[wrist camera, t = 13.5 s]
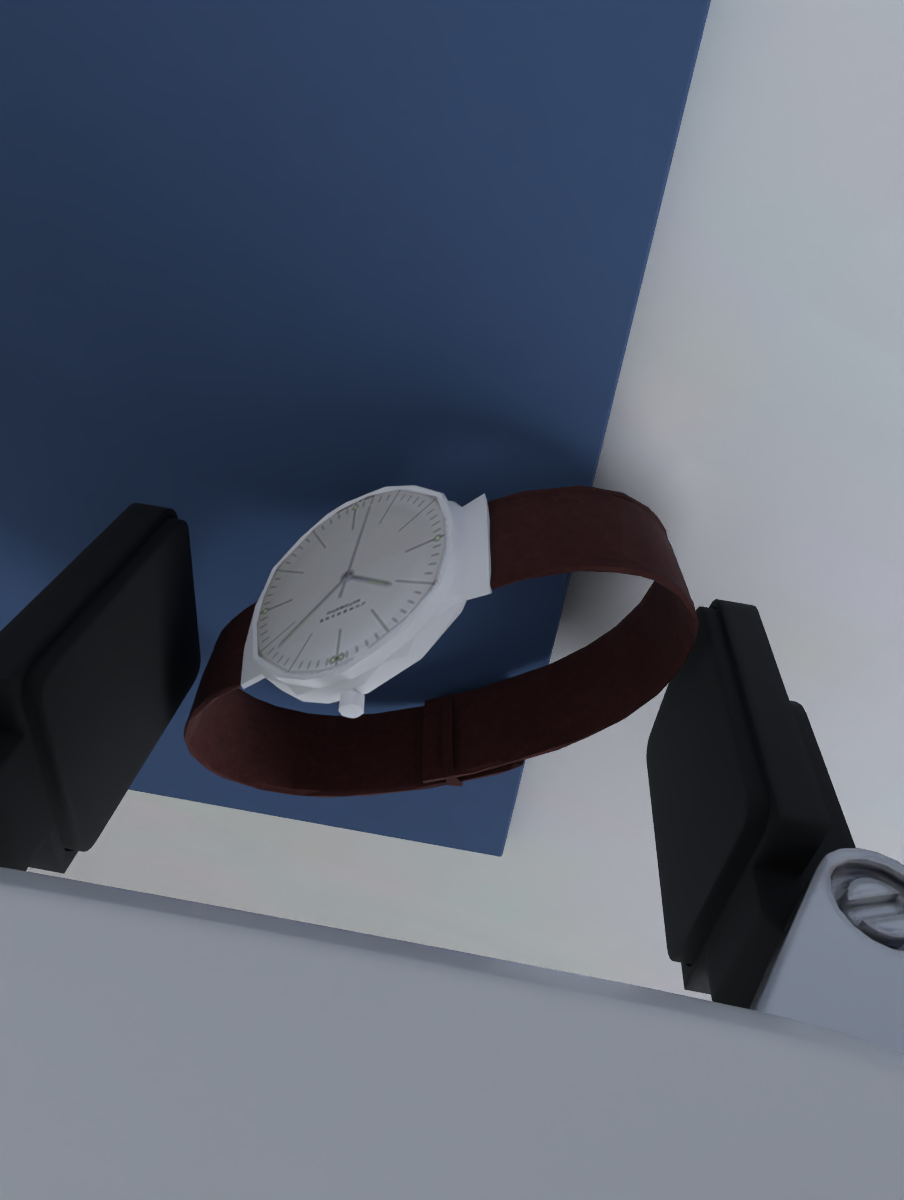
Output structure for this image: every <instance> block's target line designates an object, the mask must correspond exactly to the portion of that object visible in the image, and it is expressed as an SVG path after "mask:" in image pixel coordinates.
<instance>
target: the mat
mask: <svg viewBox="0 0 904 1200" xmlns="http://www.w3.org/2000/svg"><path fill="white" fill-rule="evenodd" d="M710 1H711V0H0V631H1V630H2V629H3V628H4V627H5V626H6V625H7V624H8V623H9V622H10V621H11V620H12V619H13V618H15V617H16V616H17V615H18V614H19V613H20V612H21V611H22V610H23V609H24V608H25V607H26V606H27V605H28V604H29V603H30V602H31V601H32V600H33V599H34V598H35V597H36V596H37V595H38V594H39V593H40V592H41V591H42V590H43V589H44V588H45V587H46V586H47V585H48V584H49V583H50V582H51V581H52V580H53V579H55V578H56V577H57V576H58V575H59V574H60V573H61V572H62V571H63V570H64V569H65V568H66V567H67V566H68V565H69V564H70V563H71V562H72V561H73V560H74V559H75V558H76V557H77V556H78V555H79V554H80V553H81V552H82V551H83V550H84V549H85V548H86V547H87V546H88V545H89V544H90V543H91V542H92V541H94V540H95V539H96V538H97V537H98V536H99V535H100V534H101V533H102V532H103V531H104V530H105V529H106V528H107V527H108V526H109V525H110V524H111V523H112V522H113V521H114V520H115V519H116V518H117V517H118V516H119V515H120V514H121V513H122V512H123V511H124V510H125V509H126V508H127V507H128V506H130V505H131V504H133V503H142V504H148V505H154V506H160V507H166V508H172V509H173V510H174V511H175V512H176V514H177V516H178V519H180V520H184V521H186V522H187V525H188V529H189V537H190V548H191V558H192V569H193V579H194V590H195V600H196V611H197V622H198V632H199V643H200V653H201V664H200V669H199V673H198V676H197V679H196V680H195V682H194V684H193V686H192V687H191V689H190V690H189V692H188V694H187V695H186V697H185V698H184V700H183V702H182V703H181V705H180V707H179V708H178V710H177V711H176V713H175V715H174V716H173V718H172V719H171V721H170V723H169V724H168V726H167V728H166V729H165V731H164V732H163V734H162V736H161V737H160V739H159V740H158V742H157V744H156V745H155V747H154V748H153V750H152V752H151V753H150V755H149V757H148V758H147V760H146V761H145V763H144V765H143V766H142V768H141V769H140V771H139V773H138V774H137V776H136V777H135V779H134V781H133V782H132V784H131V786H130V787H129V790H135V791H140V792H146V793H151V794H157V795H162V796H168V797H174V798H179V799H185V800H190V801H196V802H201V803H207V804H212V805H218V806H223V807H229V808H234V809H240V810H245V811H251V812H256V813H262V814H268V815H273V816H279V817H284V818H290V819H295V820H301V821H306V822H312V823H317V824H323V825H328V826H334V827H339V828H345V829H350V830H356V831H362V832H367V833H373V834H378V835H384V836H389V837H395V838H400V839H406V840H411V841H417V842H422V843H428V844H433V845H439V846H444V847H450V848H456V849H461V850H467V851H472V852H478V853H483V854H489V855H494V856H502V854H503V850H504V846H505V842H506V838H507V833H508V829H509V825H510V821H511V817H512V813H513V809H514V805H515V801H516V797H517V792H518V788H519V784H520V780H521V776H522V772H523V768H524V764H525V761H524V763H523V765H522V766H520V767H517V768H515V769H513V770H510V771H507V772H504V773H502V774H498V775H493V776H488V777H483V778H478V779H473V780H469V781H464V782H463V785H462V786H449V785H444V786H439V787H434V788H429V789H421V790H413V791H405V792H396V793H388V794H380V795H371V796H351V797H330V798H322V797H308V796H295V795H287V794H281V793H276V792H270V791H264V790H259V789H256V788H253V787H250V786H247V785H243V784H240V783H237V782H234V781H230V780H227V779H224V778H222V777H220V776H218V775H216V774H214V773H213V772H211V771H209V770H208V769H206V768H205V767H204V766H203V765H202V764H201V763H199V762H198V761H197V760H196V759H195V758H194V757H193V756H192V755H191V754H190V753H189V750H188V748H187V745H186V743H185V740H184V728H185V723H186V721H187V719H188V717H189V714H190V711H191V708H192V705H193V702H194V699H195V696H196V693H197V690H198V687H199V683H200V680H201V677H202V675H203V672H204V670H205V668H206V666H207V663H208V661H209V659H210V657H211V654H212V652H213V650H214V645H215V643H216V641H217V639H218V637H219V635H220V633H221V631H222V630H223V629H224V627H225V626H226V625H227V624H228V623H229V622H230V621H231V620H232V619H233V618H234V617H236V616H237V615H238V614H239V613H241V612H242V611H243V610H244V609H246V608H247V607H249V606H250V605H252V604H254V603H255V602H257V601H258V599H259V597H260V595H261V593H262V591H263V590H264V587H265V585H266V583H267V580H268V578H269V576H270V573H271V571H272V569H273V568H274V566H275V565H276V564H277V563H278V562H279V561H280V560H281V559H282V558H283V557H284V555H285V554H286V553H287V552H288V551H289V550H290V549H291V548H292V547H293V546H294V544H295V543H296V542H297V541H298V540H299V539H300V538H301V537H302V536H303V535H304V534H305V533H306V532H308V531H309V530H310V529H311V528H312V527H313V526H314V525H316V524H317V523H318V522H319V521H320V520H321V519H322V518H324V517H325V516H326V515H327V514H328V513H330V512H331V511H333V510H335V509H336V508H338V507H339V506H341V505H343V504H344V503H346V502H348V501H351V500H353V499H356V498H358V497H360V496H363V495H365V494H368V493H371V492H373V491H376V490H378V489H381V488H383V487H389V486H408V485H416V486H420V487H423V488H427V489H430V490H434V491H437V492H441V493H444V495H445V496H446V498H447V500H448V501H453V502H455V503H457V504H458V505H460V506H461V507H463V506H465V505H466V504H468V503H469V502H471V501H473V500H474V499H476V498H478V497H479V496H481V495H483V494H484V493H485V496H486V498H487V501H491V500H494V499H498V498H501V497H505V496H508V495H512V494H515V493H519V492H522V491H529V490H539V489H550V488H560V487H570V486H581V485H583V486H589V487H592V485H593V481H594V477H595V473H596V469H597V464H598V460H599V456H600V452H601V448H602V444H603V440H604V436H605V432H606V428H607V423H608V419H609V415H610V411H611V407H612V403H613V399H614V395H615V391H616V387H617V382H618V378H619V374H620V370H621V366H622V362H623V358H624V354H625V350H626V346H627V341H628V337H629V333H630V329H631V325H632V321H633V317H634V313H635V309H636V305H637V300H638V296H639V292H640V288H641V284H642V280H643V276H644V272H645V268H646V264H647V259H648V255H649V251H650V247H651V243H652V239H653V235H654V231H655V227H656V223H657V218H658V214H659V210H660V206H661V202H662V198H663V194H664V190H665V186H666V182H667V177H668V173H669V169H670V165H671V161H672V157H673V153H674V149H675V145H676V141H677V136H678V132H679V128H680V124H681V120H682V116H683V112H684V108H685V104H686V100H687V95H688V91H689V87H690V83H691V79H692V75H693V71H694V67H695V63H696V59H697V54H698V50H699V46H700V42H701V38H702V34H703V30H704V26H705V22H706V18H707V13H708V9H709V5H710ZM570 575H571V572H568V573H562V574H556V575H550V576H544V577H538V578H532V579H526V580H523V581H519V582H516V583H513V584H510V585H507V586H503V587H500V588H497V589H494V590H492V593H491V594H488V595H485V596H481V597H477V598H473V599H470V600H467V601H466V603H465V606H464V608H463V610H462V612H461V613H460V615H459V616H458V617H457V618H456V619H455V620H454V622H453V623H452V624H451V625H450V626H449V627H448V629H447V630H446V631H445V632H444V633H443V634H442V636H441V637H440V638H439V639H438V640H437V641H436V643H435V644H434V645H433V646H432V647H431V648H430V650H429V651H428V652H427V653H426V654H425V655H424V657H423V658H422V659H420V660H419V661H417V662H416V663H414V664H413V665H411V666H410V667H408V668H406V669H405V670H403V671H402V672H400V673H399V674H397V675H396V676H394V677H392V678H391V679H389V680H388V681H386V682H385V683H383V684H382V685H380V686H378V687H377V688H375V689H374V690H372V691H371V692H369V693H367V694H363V695H365V700H364V713H363V714H376V713H382V712H388V711H394V710H400V709H406V708H413V707H419V706H424V704H425V700H429V699H434V698H438V697H443V696H444V695H450V694H457V693H462V692H467V691H471V690H476V689H479V688H482V687H485V686H487V685H490V684H493V683H496V682H499V681H502V680H505V679H508V678H511V677H514V676H517V675H520V674H523V673H525V672H528V671H531V670H534V669H537V668H540V667H543V666H546V665H549V661H550V657H551V653H552V649H553V645H554V641H555V637H556V633H557V628H558V624H559V620H560V616H561V612H562V608H563V604H564V600H565V596H566V592H567V587H568V583H569V579H570ZM239 689H241V690H243V691H244V692H246V693H248V694H250V695H251V696H253V697H255V698H257V699H260V700H262V701H265V702H267V703H270V704H272V705H275V706H278V707H283V708H287V709H291V710H296V711H300V712H305V713H310V714H321V715H333V716H341V714H340V712H339V711H338V710H339V703H340V701H337V702H333V703H330V704H326V703H314V702H303V701H301V700H299V699H297V698H295V697H293V696H291V695H289V694H287V693H286V692H284V691H282V690H280V689H279V688H278V687H276V686H275V685H274V684H273V683H271V682H270V681H269V680H267V679H266V678H264V679H262V680H260V681H258V682H256V683H254V684H253V685H251V686H249V687H247V688H245V689H243V688H242V687H240V688H239ZM525 760H526V759H525Z"/></svg>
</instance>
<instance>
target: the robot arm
mask: <svg viewBox="0 0 904 1200" xmlns="http://www.w3.org/2000/svg"><path fill="white" fill-rule="evenodd" d="M696 614H697V618H698V621H699V625H698V630H697V635H696V640H695V645H694V648H693V650H692V651H691V653H690V655H689V656H688V658H687V659H686V661H685V663H684V664H683V666H682V668H681V669H680V671H679V672H678V673H677V674H676V676H675V677H674V678H673V679H672V680H671V681H670V682H669V684H668V687H667V690H666V693H665V695H664V698H663V701H662V703H661V706H660V709H659V712H658V714H657V717H656V720H655V722H654V725H653V728H652V731H651V733H650V736H649V740H648V745H647V756H646V757H647V768H648V778H649V787H650V796H651V805H652V814H653V823H654V832H655V841H656V850H657V859H658V869H659V878H660V887H661V896H662V905H663V914H664V923H665V932H666V941H667V949H668V955H669V957H670V959H671V960H672V961H676V962H681V965H682V973H683V981H684V989H685V990H690V991H695V992H701V993H706V994H711V997H712V1001H713V1002H712V1001H707V1000H702V999H698V998H693V997H688V996H683V995H679V994H674V993H669V992H664V991H659V990H655V989H650V988H645V987H640V986H635V985H630V984H625V983H620V982H615V981H609V980H604V979H599V978H594V977H589V976H583V975H578V974H573V973H568V972H563V971H557V970H552V969H547V968H542V967H537V966H531V965H526V964H521V963H516V962H511V961H505V960H500V959H495V958H490V957H485V956H480V955H474V954H469V953H464V952H459V951H454V950H448V949H443V948H438V947H433V946H427V945H422V944H417V943H411V942H406V941H401V940H395V939H390V938H385V937H379V936H374V935H369V934H363V933H358V932H353V931H347V930H342V929H337V928H332V927H326V926H321V925H316V924H310V923H305V922H299V921H294V920H289V919H283V918H278V917H273V916H267V915H262V914H256V913H251V912H246V911H240V910H235V909H230V908H224V907H219V906H213V905H208V904H203V903H197V902H192V901H186V900H181V899H175V898H170V897H164V896H159V895H153V894H148V893H142V892H137V891H131V890H126V889H120V888H115V887H109V886H104V885H98V884H93V883H87V882H82V881H76V880H71V879H65V878H60V877H54V876H49V875H43V874H37V873H32V872H26V870H27V868H28V867H32V868H37V869H43V870H48V871H53V872H59V873H65V871H66V870H67V868H68V866H69V865H70V863H71V862H72V860H73V859H74V857H75V855H76V854H77V852H78V851H83V852H85V851H88V850H89V849H90V848H91V847H92V846H93V845H94V843H95V842H96V840H97V839H98V837H99V836H100V834H101V832H102V831H103V829H104V827H105V826H106V824H107V823H108V821H109V819H110V818H111V816H112V815H113V813H114V811H115V810H116V808H117V807H118V805H119V803H120V802H121V800H122V798H123V797H124V795H125V794H126V792H127V790H128V789H129V787H130V786H131V784H132V782H133V781H134V779H135V777H136V776H137V774H138V773H139V771H140V769H141V768H142V766H143V765H144V763H145V761H146V760H147V758H148V757H149V755H150V753H151V752H152V750H153V748H154V747H155V745H156V744H157V742H158V740H159V739H160V737H161V736H162V734H163V732H164V731H165V729H166V728H167V726H168V724H169V723H170V721H171V719H172V718H173V716H174V715H175V713H176V711H177V710H178V708H179V707H180V705H181V703H182V702H183V700H184V698H185V697H186V695H187V694H188V692H189V690H190V689H191V687H192V686H193V684H194V682H195V680H196V679H197V676H198V673H199V669H200V664H201V653H200V643H199V632H198V622H197V611H196V600H195V590H194V579H193V569H192V558H191V548H190V537H189V529H188V525H187V522H186V521H184V520H180V519H178V516H177V514H176V512H175V511H174V510H173V509H172V508H166V507H160V506H154V505H148V504H142V503H133V504H131V505H130V506H128V507H127V508H126V509H125V510H124V511H123V512H122V513H121V514H120V515H119V516H118V517H117V518H116V519H115V520H114V521H113V522H112V523H111V524H110V525H109V526H108V527H107V528H106V529H105V530H104V531H103V532H102V533H101V534H100V535H99V536H98V537H97V538H96V539H95V540H94V541H92V542H91V543H90V544H89V545H88V546H87V547H86V548H85V549H84V550H83V551H82V552H81V553H80V554H79V555H78V556H77V557H76V558H75V559H74V560H73V561H72V562H71V563H70V564H69V565H68V566H67V567H66V568H65V569H64V570H63V571H62V572H61V573H60V574H59V575H58V576H57V577H56V578H55V579H53V580H52V581H51V582H50V583H49V584H48V585H47V586H46V587H45V588H44V589H43V590H42V591H41V592H40V593H39V594H38V595H37V596H36V597H35V598H34V599H33V600H32V601H31V602H30V603H29V604H28V605H27V606H26V607H25V608H24V609H23V610H22V611H21V612H20V613H19V614H18V615H17V616H16V617H15V618H13V619H12V620H11V621H10V622H9V623H8V624H7V625H6V626H5V627H4V628H3V629H2V630H1V631H0V1200H904V865H902V864H901V863H899V862H898V861H896V860H894V859H891V858H889V857H887V856H884V855H882V854H880V853H878V852H874V851H869V850H865V849H860V848H856V847H855V844H854V842H853V839H852V836H851V834H850V831H849V828H848V825H847V823H846V820H845V817H844V815H843V812H842V809H841V806H840V804H839V801H838V798H837V796H836V793H835V790H834V787H833V785H832V782H831V779H830V776H829V774H828V771H827V768H826V766H825V763H824V760H823V757H822V755H821V752H820V749H819V747H818V744H817V741H816V738H815V736H814V733H813V730H812V728H811V725H810V722H809V719H808V717H807V714H806V712H805V710H804V708H803V707H802V705H800V704H799V703H797V702H794V701H789V698H788V695H787V693H786V690H785V687H784V684H783V681H782V678H781V675H780V673H779V670H778V667H777V664H776V661H775V658H774V655H773V652H772V650H771V647H770V644H769V641H768V638H767V635H766V632H765V629H764V627H763V624H762V621H761V618H760V615H759V612H758V610H757V608H756V606H753V605H748V604H742V603H736V602H730V601H724V600H718V599H716V600H714V601H713V602H712V603H711V605H710V607H709V608H707V607H701V606H700V607H698V609H697V610H696Z"/></svg>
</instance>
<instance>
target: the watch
mask: <svg viewBox="0 0 904 1200" xmlns="http://www.w3.org/2000/svg"><path fill="white" fill-rule="evenodd" d="M574 571H593V572H617V573H623V574H630V575H637V576H642V577H645V578H648V579H652V580H654V582H653V584H652V585H651V587H650V588H649V590H648V592H647V593H646V595H645V596H644V598H643V599H642V601H641V602H640V603H639V604H638V605H637V606H636V607H635V608H634V609H633V610H632V611H631V612H630V613H629V614H628V615H627V616H626V617H625V618H624V619H623V620H622V621H621V622H620V623H619V624H618V625H617V626H616V627H614V628H613V629H611V630H610V631H609V632H607V633H606V634H604V635H603V636H601V637H600V638H598V639H597V640H595V641H594V642H592V643H591V644H589V645H588V646H586V647H584V648H582V649H580V650H578V651H576V652H574V653H572V654H570V655H568V656H566V657H564V658H562V659H560V660H558V661H556V662H554V663H552V664H549V665H546V666H543V667H540V668H537V669H534V670H531V671H528V672H525V673H523V674H520V675H517V676H514V677H511V678H508V679H505V680H502V681H499V682H496V683H493V684H490V685H487V686H485V687H482V688H479V689H476V690H471V691H467V692H462V693H457V694H450V695H444V696H443V697H438V698H434V699H429V700H425V704H424V706H419V707H413V708H406V709H400V710H394V711H388V712H382V713H376V714H363V713H364V700H365V695H363V694H367V693H369V692H371V691H372V690H374V689H375V688H377V687H378V686H380V685H382V684H383V683H385V682H386V681H388V680H389V679H391V678H392V677H394V676H396V675H397V674H399V673H400V672H402V671H403V670H405V669H406V668H408V667H410V666H411V665H413V664H414V663H416V662H417V661H419V660H420V659H422V658H423V657H424V655H425V654H426V653H427V652H428V651H429V650H430V648H431V647H432V646H433V645H434V644H435V643H436V641H437V640H438V639H439V638H440V637H441V636H442V634H443V633H444V632H445V631H446V630H447V629H448V627H449V626H450V625H451V624H452V623H453V622H454V620H455V619H456V618H457V617H458V616H459V615H460V613H461V612H462V610H463V608H464V606H465V603H466V601H467V600H470V599H473V598H477V597H481V596H485V595H488V594H491V593H492V590H494V589H497V588H500V587H503V586H507V585H510V584H513V583H516V582H519V581H523V580H526V579H532V578H538V577H544V576H550V575H556V574H562V573H568V572H574ZM698 625H699V621H698V618H697V614H696V611H695V607H694V603H693V601H692V599H691V598H690V594H689V591H688V588H687V586H686V583H685V580H684V578H683V575H682V573H681V570H680V567H679V565H678V562H677V560H676V557H675V554H674V552H673V549H672V547H671V544H670V542H669V540H668V537H667V533H666V529H665V528H664V526H663V524H662V523H661V521H660V520H659V518H658V517H657V516H656V515H655V514H654V513H653V512H652V511H651V510H650V509H649V508H648V507H647V506H645V505H643V504H642V503H640V502H638V501H636V500H635V499H633V498H631V497H629V496H628V495H626V494H624V493H621V492H616V491H610V490H605V489H599V488H594V487H589V486H583V485H581V486H570V487H560V488H550V489H539V490H529V491H522V492H519V493H515V494H512V495H508V496H505V497H501V498H498V499H494V500H491V501H487V498H486V496H485V493H484V494H483V495H481V496H479V497H478V498H476V499H474V500H473V501H471V502H469V503H468V504H466V505H465V506H463V507H461V506H460V505H458V504H457V503H455V502H453V501H448V500H447V498H446V496H445V495H444V493H441V492H437V491H434V490H430V489H427V488H423V487H420V486H416V485H408V486H389V487H383V488H381V489H378V490H376V491H373V492H371V493H368V494H365V495H363V496H360V497H358V498H356V499H353V500H351V501H348V502H346V503H344V504H343V505H341V506H339V507H338V508H336V509H335V510H333V511H331V512H330V513H328V514H327V515H326V516H325V517H324V518H322V519H321V520H320V521H319V522H318V523H317V524H316V525H314V526H313V527H312V528H311V529H310V530H309V531H308V532H306V533H305V534H304V535H303V536H302V537H301V538H300V539H299V540H298V541H297V542H296V543H295V544H294V546H293V547H292V548H291V549H290V550H289V551H288V552H287V553H286V554H285V555H284V557H283V558H282V559H281V560H280V561H279V562H278V563H277V564H276V565H275V566H274V568H273V569H272V571H271V573H270V576H269V578H268V580H267V583H266V585H265V587H264V590H263V591H262V593H261V595H260V597H259V599H258V601H257V602H255V603H254V604H252V605H250V606H249V607H247V608H246V609H244V610H243V611H242V612H241V613H239V614H238V615H237V616H236V617H234V618H233V619H232V620H231V621H230V622H229V623H228V624H227V625H226V626H225V627H224V629H223V630H222V631H221V633H220V635H219V637H218V639H217V641H216V643H215V645H214V650H213V652H212V654H211V657H210V659H209V661H208V663H207V666H206V668H205V670H204V672H203V675H202V677H201V680H200V683H199V687H198V690H197V693H196V696H195V699H194V702H193V705H192V708H191V711H190V714H189V717H188V719H187V721H186V723H185V728H184V740H185V743H186V745H187V748H188V750H189V753H190V754H191V755H192V756H193V757H194V758H195V759H196V760H197V761H198V762H199V763H201V764H202V765H203V766H204V767H205V768H206V769H208V770H209V771H211V772H213V773H214V774H216V775H218V776H220V777H222V778H224V779H227V780H230V781H234V782H237V783H240V784H243V785H247V786H250V787H253V788H256V789H259V790H264V791H270V792H276V793H281V794H287V795H295V796H308V797H322V798H330V797H351V796H371V795H380V794H388V793H396V792H405V791H413V790H421V789H429V788H434V787H439V786H444V785H449V786H462V785H463V782H464V781H469V780H473V779H478V778H483V777H488V776H493V775H498V774H502V773H504V772H507V771H510V770H513V769H515V768H517V767H520V766H522V765H523V763H524V761H525V759H528V758H531V757H535V756H538V755H542V754H545V753H548V752H552V751H555V750H559V749H561V748H563V747H566V746H568V745H570V744H573V743H575V742H577V741H580V740H582V739H584V738H587V737H589V736H591V735H593V734H595V733H597V732H599V731H601V730H603V729H605V728H607V727H609V726H611V725H613V724H615V723H617V722H619V721H621V720H623V719H625V718H626V717H628V716H629V715H630V714H632V713H633V712H635V711H636V710H637V709H639V708H640V707H641V706H643V705H644V704H646V703H647V702H648V701H650V700H651V699H652V698H654V697H655V696H657V695H658V694H659V693H660V692H661V691H662V689H663V688H664V687H665V686H666V685H667V684H668V683H669V682H670V681H671V680H672V679H673V678H674V677H675V676H676V674H677V673H678V672H679V671H680V669H681V668H682V666H683V664H684V663H685V661H686V659H687V658H688V656H689V655H690V653H691V651H692V650H693V648H694V645H695V640H696V635H697V630H698ZM264 678H266V679H267V680H269V681H270V682H271V683H273V684H274V685H275V686H276V687H278V688H279V689H280V690H282V691H284V692H286V693H287V694H289V695H291V696H293V697H295V698H297V699H299V700H301V701H303V702H314V703H326V704H330V703H333V702H337V701H340V703H339V710H338V711H339V712H340V714H341V716H333V715H321V714H310V713H305V712H300V711H296V710H291V709H287V708H283V707H278V706H275V705H272V704H270V703H267V702H265V701H262V700H260V699H257V698H255V697H253V696H251V695H250V694H248V693H246V692H244V691H243V690H241V689H239V688H240V687H242V688H243V689H245V688H247V687H249V686H251V685H253V684H254V683H256V682H258V681H260V680H262V679H264Z"/></svg>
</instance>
